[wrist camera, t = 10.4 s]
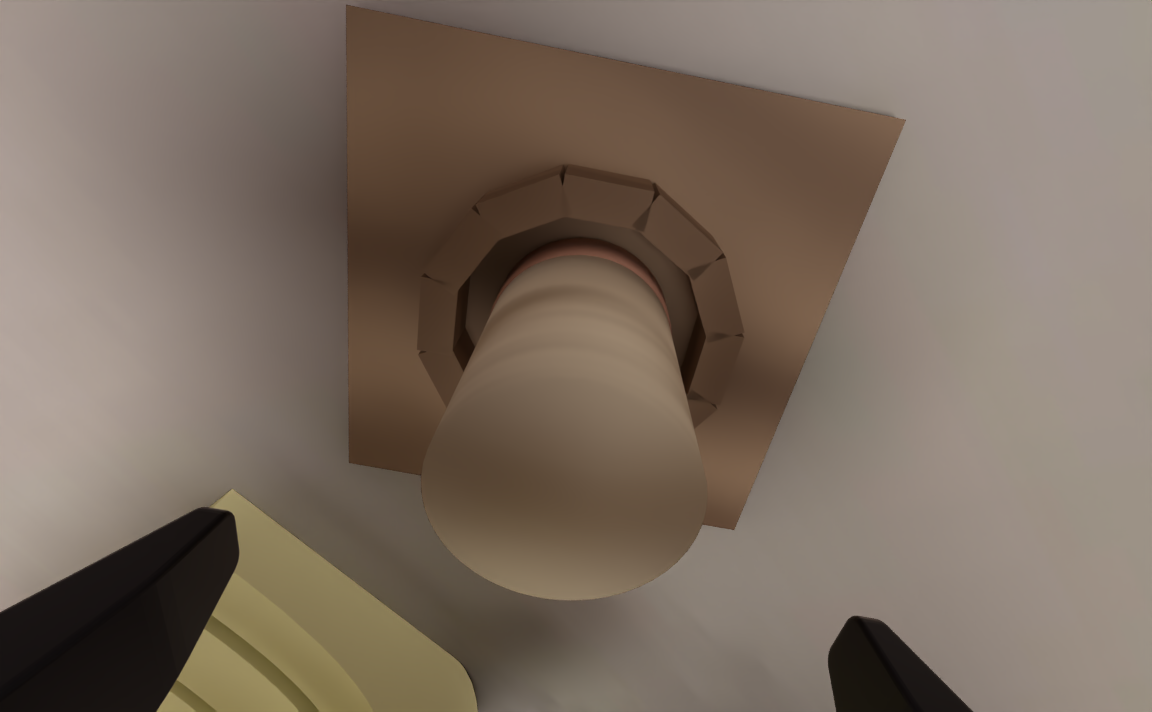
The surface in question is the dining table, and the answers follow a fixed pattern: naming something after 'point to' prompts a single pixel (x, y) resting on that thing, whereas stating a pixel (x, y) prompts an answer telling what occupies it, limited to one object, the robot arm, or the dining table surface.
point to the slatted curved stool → (308, 639)
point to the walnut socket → (588, 222)
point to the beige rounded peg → (569, 433)
